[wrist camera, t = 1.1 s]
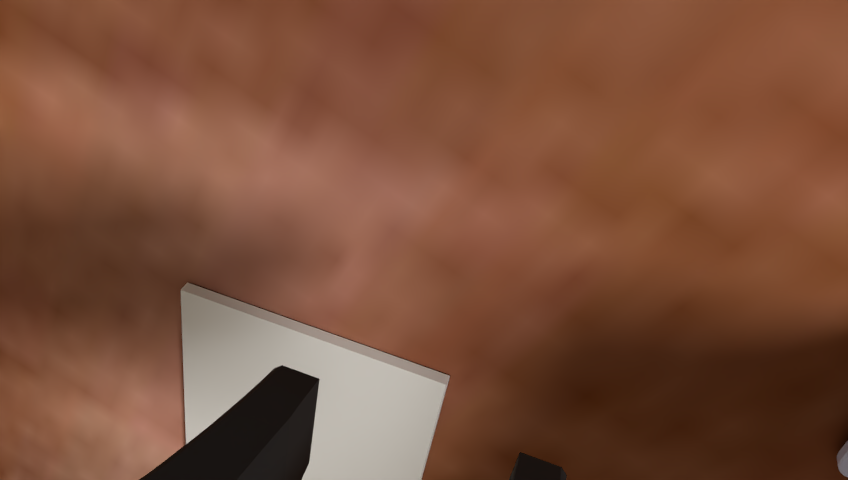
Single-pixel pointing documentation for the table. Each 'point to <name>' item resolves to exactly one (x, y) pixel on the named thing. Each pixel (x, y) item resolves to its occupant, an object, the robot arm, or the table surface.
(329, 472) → the mat
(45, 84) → the table surface
